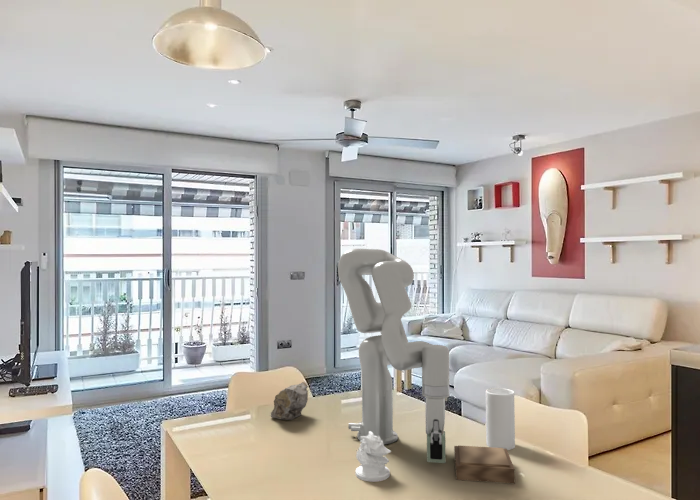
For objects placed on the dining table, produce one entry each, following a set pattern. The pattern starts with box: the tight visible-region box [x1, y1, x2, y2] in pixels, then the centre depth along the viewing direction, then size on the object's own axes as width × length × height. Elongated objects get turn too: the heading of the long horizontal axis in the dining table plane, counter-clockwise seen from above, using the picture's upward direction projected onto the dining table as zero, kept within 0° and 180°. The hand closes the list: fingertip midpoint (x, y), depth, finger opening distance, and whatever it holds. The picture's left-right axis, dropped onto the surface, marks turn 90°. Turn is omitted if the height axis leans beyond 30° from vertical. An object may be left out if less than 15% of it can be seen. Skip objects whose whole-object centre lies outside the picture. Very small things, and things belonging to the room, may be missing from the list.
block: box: [426, 430, 447, 464], centre depth 139 cm, size 5×5×7 cm
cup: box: [485, 387, 516, 451], centre depth 150 cm, size 8×8×16 cm
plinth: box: [453, 444, 516, 484], centre depth 131 cm, size 14×14×4 cm
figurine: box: [354, 431, 392, 483], centre depth 129 cm, size 12×9×10 cm
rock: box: [270, 381, 309, 421], centre depth 177 cm, size 16×10×15 cm, turn 157°
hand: (436, 452), depth 139 cm, fingers open, 9 cm apart
